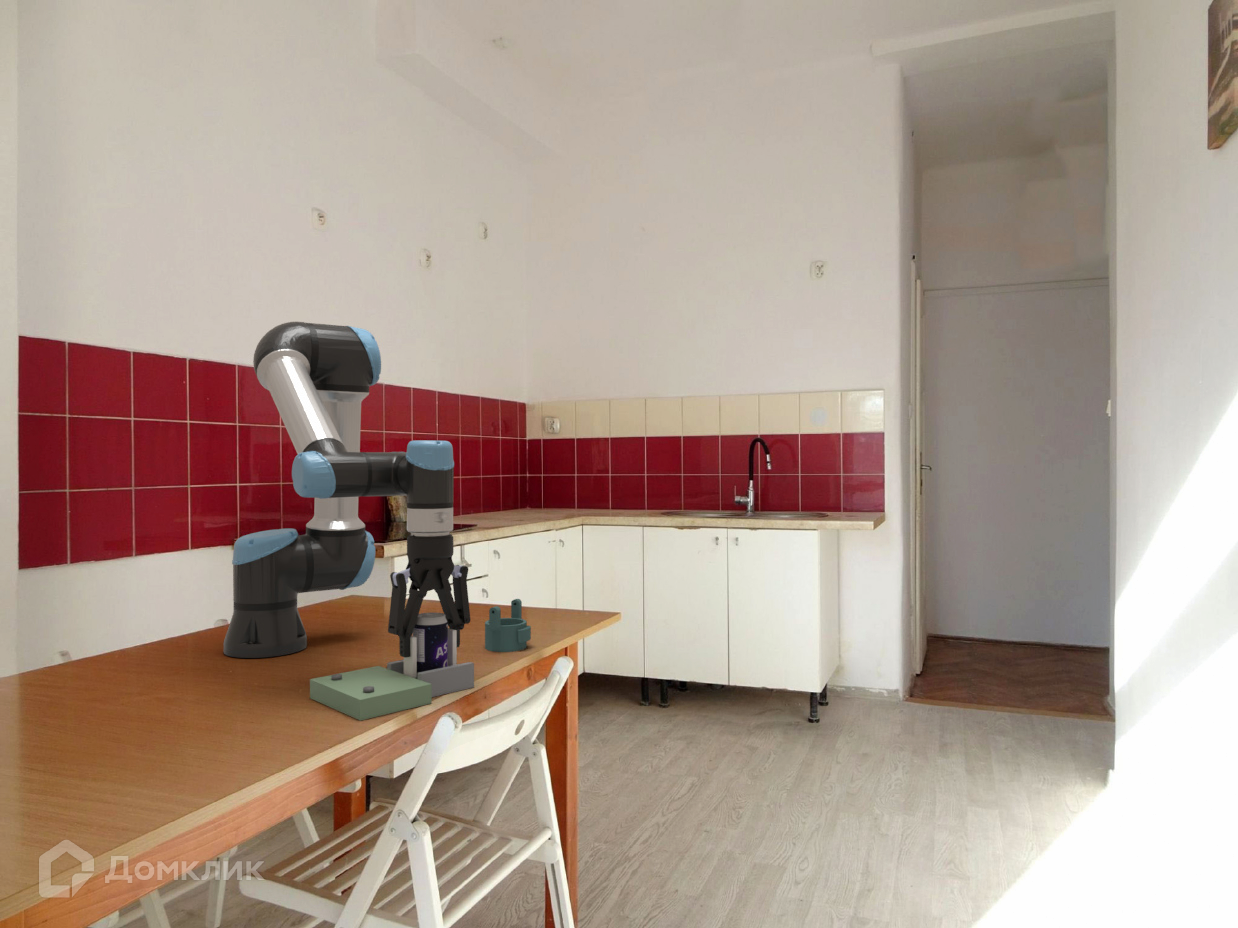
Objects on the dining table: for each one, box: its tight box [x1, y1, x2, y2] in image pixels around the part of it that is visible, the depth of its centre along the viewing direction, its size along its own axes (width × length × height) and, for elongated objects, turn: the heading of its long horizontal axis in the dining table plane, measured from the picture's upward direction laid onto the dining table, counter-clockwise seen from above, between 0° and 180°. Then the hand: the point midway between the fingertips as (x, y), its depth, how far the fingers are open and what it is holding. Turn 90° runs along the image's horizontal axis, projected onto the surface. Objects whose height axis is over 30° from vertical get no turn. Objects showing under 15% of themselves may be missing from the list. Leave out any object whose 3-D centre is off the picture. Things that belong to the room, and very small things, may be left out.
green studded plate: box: [309, 659, 475, 722], centre depth 136 cm, size 16×22×4 cm
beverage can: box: [412, 611, 449, 679], centre depth 140 cm, size 6×6×12 cm
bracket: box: [484, 598, 532, 653], centre depth 170 cm, size 9×9×9 cm
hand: (430, 671), depth 140 cm, fingers open, 7 cm apart
